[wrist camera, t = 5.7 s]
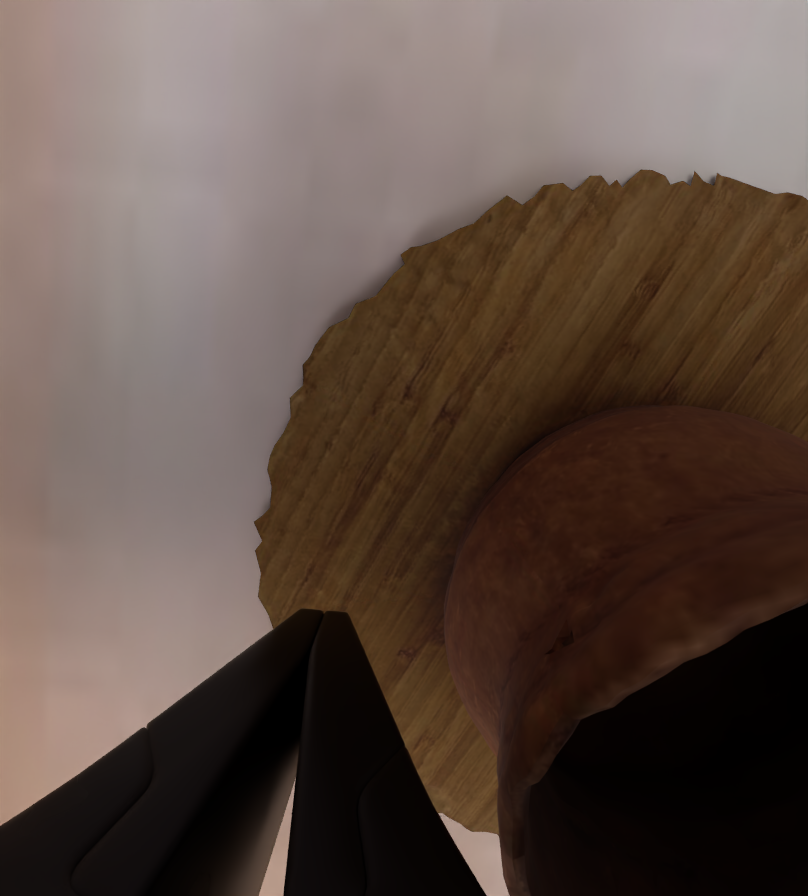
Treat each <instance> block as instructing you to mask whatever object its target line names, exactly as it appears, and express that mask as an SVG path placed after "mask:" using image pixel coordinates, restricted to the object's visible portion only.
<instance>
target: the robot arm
mask: <svg viewBox="0 0 808 896" xmlns="http://www.w3.org/2000/svg"><path fill="white" fill-rule="evenodd" d="M295 778H296V782H295V791H294V801H293V810H292V820H291V829H290V838H289V848H288V857H287V867H286V876H285V886H284V895H283V896H486V894H485V893H484V891H483V889H482V888H481V886H480V884H479V883H478V881H477V879H476V878H475V876H474V874H473V873H472V871H471V869H470V868H469V866H468V864H467V863H466V861H465V859H464V858H463V856H462V854H461V853H460V851H459V849H458V848H457V846H456V844H455V843H454V841H453V839H452V837H451V835H450V834H449V832H448V830H447V828H446V827H445V825H444V823H443V821H442V819H441V818H440V816H439V814H438V812H437V811H436V809H435V807H434V805H433V803H432V801H431V799H430V797H429V795H428V793H427V791H426V789H425V787H424V785H423V783H422V780H421V778H420V776H419V774H418V772H417V770H416V768H415V765H414V763H413V761H412V758H411V756H410V754H409V751H408V749H407V748H406V747H405V743H404V741H403V738H402V736H401V734H400V731H399V729H398V727H397V724H396V722H395V720H394V718H393V715H392V713H391V711H390V708H389V706H388V704H387V701H386V699H385V697H384V694H383V692H382V690H381V688H380V685H379V683H378V681H377V678H376V676H375V674H374V671H373V669H372V667H371V664H370V662H369V660H368V657H367V655H366V653H365V651H364V648H363V646H362V644H361V641H360V639H359V637H358V634H357V632H356V630H355V627H354V625H353V623H352V621H351V618H350V616H349V614H348V613H347V612H341V611H326V612H325V613H323V611H322V610H316V609H304V608H302V609H300V610H298V611H297V612H295V613H294V614H293V615H291V616H290V617H289V618H287V619H286V620H285V621H283V622H282V623H281V624H279V625H278V626H277V627H275V628H274V629H273V630H271V631H270V632H269V633H267V634H266V635H265V636H263V637H262V638H261V639H259V640H258V641H257V642H255V643H254V644H253V645H252V646H250V647H249V648H248V649H246V650H245V651H244V652H242V653H241V654H240V655H238V656H237V657H236V658H234V659H233V660H232V661H230V662H229V663H228V664H226V665H225V666H224V667H222V668H221V669H220V670H218V671H217V672H216V673H214V674H213V675H212V676H210V677H209V678H208V679H206V680H205V681H204V682H202V683H201V684H200V685H198V686H197V687H196V688H194V689H193V690H192V691H190V692H189V693H188V694H186V695H185V696H184V697H182V698H181V699H180V700H178V701H177V702H176V703H175V704H173V705H172V706H171V707H169V708H168V709H167V710H165V711H164V712H163V713H161V714H160V715H159V716H157V717H156V718H155V719H153V720H152V721H151V722H149V723H148V724H147V729H146V728H145V727H143V728H141V729H140V730H138V731H137V732H136V733H134V734H133V735H132V736H130V737H129V738H128V739H126V740H125V741H124V742H122V743H121V744H120V745H118V746H117V747H116V748H114V749H113V750H111V751H110V752H109V753H107V754H106V755H105V756H103V757H102V758H100V759H99V760H98V761H96V762H95V763H93V764H92V765H91V766H89V767H88V768H86V769H85V770H84V771H82V772H81V773H80V774H78V775H77V776H75V777H74V778H72V779H71V780H69V781H68V782H66V783H65V784H63V785H62V786H60V787H59V788H57V789H56V790H54V791H53V792H51V793H50V794H48V795H47V796H45V797H44V798H42V799H41V800H39V801H38V802H36V803H35V804H33V805H32V806H30V807H29V808H27V809H26V810H24V811H23V812H21V813H20V814H18V815H17V816H15V817H13V818H12V819H10V820H9V821H7V822H6V823H4V824H3V825H1V826H0V896H259V892H260V889H261V886H262V883H263V880H264V877H265V873H266V870H267V867H268V864H269V861H270V857H271V854H272V851H273V848H274V845H275V841H276V838H277V835H278V832H279V829H280V826H281V822H282V819H283V816H284V813H285V810H286V806H287V803H288V800H289V797H290V794H291V790H292V787H293V784H294V781H295Z"/></svg>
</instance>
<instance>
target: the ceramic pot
mask: <svg viewBox="0 0 808 896" xmlns="http://www.w3.org/2000/svg"><path fill="white" fill-rule="evenodd" d="M401 257H402V259H403V262H404V264H405V265H403V266H402V267H401V268H400V269H399V270H398V271H396V272H395V273H394V274H393V276H392V277H391V278H390V279H389V280H388V282H387V283H386V284H385V285H384V286H383V288H382V289H381V290H380V291H379V293H378V294H377V295H376V296H375V297H372V298H370V299H367V300H364V301H362V302H359V303H357V304H355V306H354V308H353V310H352V312H351V314H350V316H349V318H348V319H346V320H344V321H341V322H339V323H337V324H335V325H333V326H331V327H329V328H328V329H327V331H326V332H325V333H324V335H323V336H322V337H321V339H320V340H319V341H318V343H317V344H316V345H315V347H314V349H313V351H312V354H311V356H310V357H309V358H308V360H307V361H306V362H305V363H304V364H303V386H302V387H301V388H300V389H299V390H298V391H297V392H296V393H295V394H294V395H293V396H292V397H291V398H290V410H291V418H290V421H289V423H288V425H287V427H286V429H285V431H284V433H283V434H282V436H281V437H280V439H279V440H278V442H277V443H276V444H275V446H274V448H273V451H272V453H271V455H270V459H269V464H268V469H267V470H268V474H269V477H270V481H271V485H272V491H271V505H270V509H269V510H268V511H267V512H266V513H265V514H264V515H263V516H261V517H260V518H259V519H257V520H256V521H255V522H254V524H255V526H256V528H257V530H258V533H259V535H260V537H261V539H262V542H261V544H260V545H259V546H258V548H257V549H256V550H255V552H256V556H257V560H258V564H259V568H260V571H261V578H260V586H259V594H258V597H259V599H260V601H261V603H262V604H263V606H264V608H265V609H266V611H267V613H268V615H269V618H270V621H271V623H272V626H273V629H274V628H275V627H277V626H278V625H279V624H281V623H282V622H283V621H285V620H286V619H287V618H289V617H290V616H291V615H293V614H294V613H295V612H297V611H298V610H300V609H302V608H304V609H316V610H322V611H323V613H325V612H326V611H341V612H347V613H348V614H349V616H350V618H351V621H352V623H353V625H354V627H355V630H356V632H357V634H358V637H359V639H360V641H361V644H362V646H363V648H364V651H365V653H366V655H367V657H368V660H369V662H370V664H371V667H372V669H373V671H374V674H375V676H376V678H377V681H378V683H379V685H380V688H381V690H382V692H383V694H384V697H385V699H386V701H387V704H388V706H389V708H390V711H391V713H392V715H393V718H394V720H395V722H396V724H397V727H398V729H399V731H400V734H401V736H402V738H403V741H404V743H405V747H406V748H407V749H408V751H409V754H410V756H411V758H412V761H413V763H414V765H415V768H416V770H417V772H418V774H419V776H420V778H421V780H422V783H423V785H424V787H425V789H426V791H427V793H428V795H429V797H430V799H431V801H432V803H433V805H434V807H435V809H436V811H437V812H438V813H443V814H445V815H446V816H447V817H449V818H451V819H453V820H454V821H456V822H458V823H460V824H462V825H463V826H464V827H465V828H466V829H468V830H470V831H472V832H490V833H495V834H497V835H498V836H499V838H500V848H501V858H502V867H503V876H504V879H505V883H506V886H507V889H508V893H509V895H510V896H808V200H807V199H806V198H804V197H803V196H800V195H796V194H792V193H781V194H773V193H771V192H768V191H765V190H762V189H759V188H756V187H754V186H751V185H748V184H745V183H742V182H740V181H737V180H734V179H731V178H728V177H724V176H721V175H719V174H718V173H717V176H716V180H715V184H714V185H711V184H709V183H706V182H704V181H703V180H702V179H701V178H700V177H699V175H698V174H697V173H696V172H695V171H694V175H693V179H692V183H691V186H690V185H688V184H687V183H685V182H684V181H681V182H678V183H674V184H671V185H670V183H669V181H668V180H667V178H666V176H664V175H662V174H660V173H657V172H655V171H653V170H640V171H639V172H638V173H637V174H635V175H634V176H633V177H632V178H631V179H630V180H629V181H628V182H627V183H626V184H625V185H624V186H623V187H622V186H621V185H620V184H619V182H618V181H617V180H616V181H614V182H613V183H612V184H611V185H610V186H609V185H608V184H607V182H606V181H605V180H604V178H603V177H602V176H590V177H589V178H588V179H587V180H586V181H585V182H584V183H583V184H582V185H580V186H579V187H578V188H576V189H575V190H573V191H572V190H571V189H570V188H568V187H567V186H566V185H565V184H564V183H560V184H552V185H544V186H543V187H542V188H541V189H540V190H539V192H538V193H537V194H536V195H535V196H534V197H533V198H532V199H530V200H529V201H528V202H526V203H525V204H524V205H521V204H520V203H518V202H517V201H515V200H513V199H512V198H510V197H509V196H506V197H505V198H503V199H502V200H501V201H499V202H498V203H497V204H496V205H494V206H493V207H492V208H490V209H489V210H488V211H487V212H486V213H485V214H484V215H482V216H481V217H480V218H479V219H478V220H477V221H476V222H475V223H474V224H471V225H469V226H466V227H463V228H460V229H458V230H456V231H454V232H452V233H451V234H449V235H447V236H445V237H443V238H441V239H439V240H437V241H434V242H431V243H429V244H426V245H423V246H418V247H411V248H409V249H408V250H407V251H405V252H404V253H403V254H401Z"/></svg>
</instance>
